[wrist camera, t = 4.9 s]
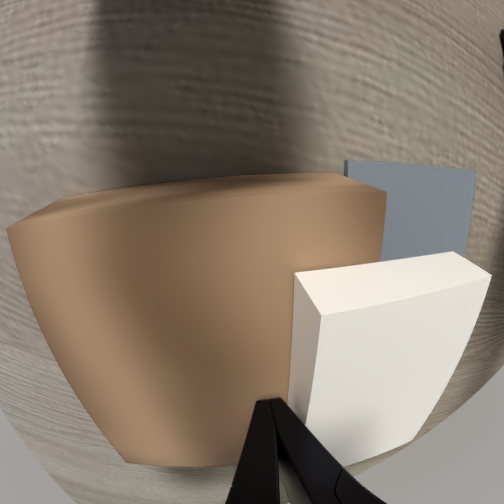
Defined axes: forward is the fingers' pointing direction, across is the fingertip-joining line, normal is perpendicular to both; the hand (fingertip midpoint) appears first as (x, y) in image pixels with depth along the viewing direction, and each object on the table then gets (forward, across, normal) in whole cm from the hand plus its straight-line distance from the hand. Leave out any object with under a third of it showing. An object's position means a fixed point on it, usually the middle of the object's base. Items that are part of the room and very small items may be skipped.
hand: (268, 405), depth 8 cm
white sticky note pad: (+1, -4, 0) cm, 4 cm away
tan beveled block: (+5, +2, 0) cm, 5 cm away
